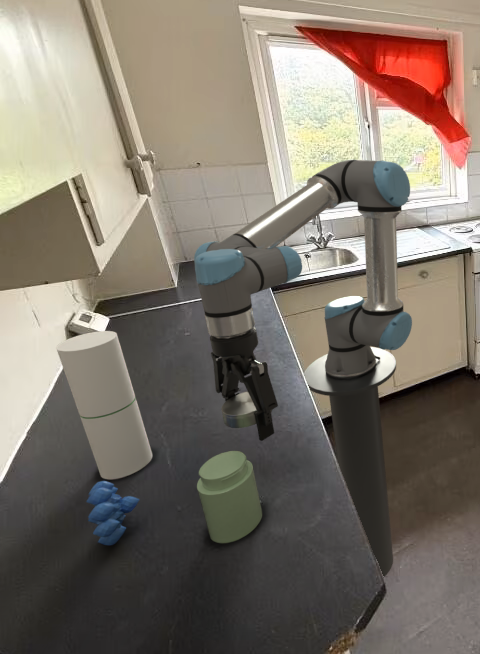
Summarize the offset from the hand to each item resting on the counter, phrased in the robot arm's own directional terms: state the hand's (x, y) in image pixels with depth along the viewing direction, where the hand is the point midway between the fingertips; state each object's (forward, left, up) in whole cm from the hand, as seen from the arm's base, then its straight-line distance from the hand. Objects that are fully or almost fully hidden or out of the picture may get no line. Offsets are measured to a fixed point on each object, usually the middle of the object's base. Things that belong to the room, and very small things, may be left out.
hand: (252, 429), depth 87 cm
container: (+24, -18, -11) cm, 32 cm away
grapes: (+22, +4, -11) cm, 25 cm away
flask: (+5, +12, -11) cm, 17 cm away
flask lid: (0, 0, +6) cm, 6 cm away
